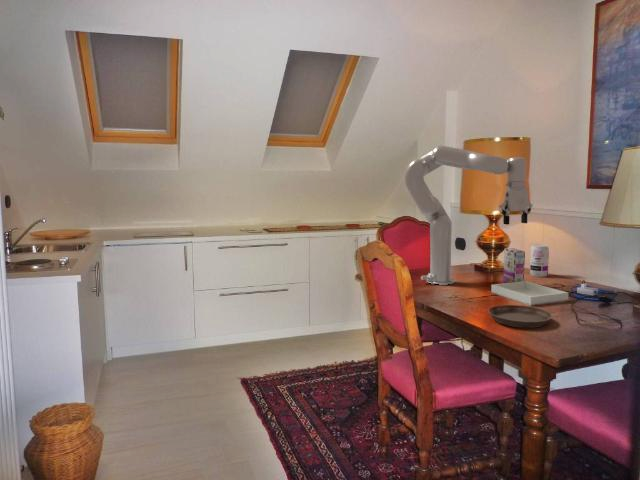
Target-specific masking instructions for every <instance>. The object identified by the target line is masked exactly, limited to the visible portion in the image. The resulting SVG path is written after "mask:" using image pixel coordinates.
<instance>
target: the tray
mask: <svg viewBox="0 0 640 480" xmlns="http://www.w3.org/2000/svg"><path fill="white" fill-rule="evenodd" d="M490 285H491V288H490V289H491V290H490V291H491V293H492V294H494V295H498V296H500V297H503V298H506V299H509V300H513V301H516V302H518V303H520V304H524V305H525V306H528V307H533V306H540V305H541V306H543V305H548V304H549V305H550V304H556V303H557V304H558V303H565V302H568V301H569V292H568V291H564V290H560V289H556V288H553V287H550V286H549V287H548V286H544V285H541V284H538V283H534V282H531V281H528V280H524V281H521V282H512V283H503V282H502V283H494V284H490Z"/></svg>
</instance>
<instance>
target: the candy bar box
mask: <svg viewBox="0 0 640 480" xmlns="http://www.w3.org/2000/svg"><path fill="white" fill-rule="evenodd" d="M503 251H504V252H503V278H502V279H503V281H502V284H503V283H512V282H521V281H525V262H526V261H525V260H526V259H525V257H526V253H525V252H526V251H525V250H521V249H517V248H513V247H511V248H510V247H508V248H504V250H503Z"/></svg>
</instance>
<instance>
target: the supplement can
mask: <svg viewBox="0 0 640 480" xmlns="http://www.w3.org/2000/svg"><path fill="white" fill-rule="evenodd" d="M549 253H550V248H549V246H548V245H546V244H532V245H531V248H530V255H529V256H530V258H529V259H530V262H529V263H530V264H529V275H530V276H532V277H535V278H545V277H547V276H549V258H550V255H549Z"/></svg>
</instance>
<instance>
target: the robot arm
mask: <svg viewBox="0 0 640 480" xmlns="http://www.w3.org/2000/svg"><path fill="white" fill-rule="evenodd" d="M441 166H447V167H451V168H458V169H463V170H468V171H469V170H471V171H478V172H484V173H489V174H494V175H503V174H507V183H505V186H506V187H507V188H506V189H505V193H504V202H502V203H501V204H500V205H498V208H499V211H500V213H501V215H502V216H503V217H502V218H503V223H502V224H503V225H507V226H508V225H510V217H511V216H510V213H511V212H521V216H520V218H521V220H520V221H521V222H520V223H521V224H528V215H529V214H530V212H531V211H532V208H533V204H532V203H531V202H529V192H528V188H526V181H527V180H526V177H527V174H526V173H527V159H526V158H525V157H523V156H521V157H517V156H514V157H510V158H507V157H506V158H505V157H502V156H497V155H491V154H485V153H480V152H476V151H473V150H469V149H462V148H458V147H452V146H446V145H437V146H435V147H434V148H433V150H431V151H429V152H428V153H426V154H424V155H423V156H421V157H420V158H416V159H414V160H412V161H411V162H410V163H409V164H408V166H407V168H406V170H405V174H404V182H405V187H406V189H407V190H408V192H409V194H410V195H411V197H412V200H413V201H414V202H415V204H416V206H417V208H418V210H419V211H420V213H421V215H424V217H425V218H426V220H427V221H428V222H427V223H429V234H430V235H429V237H430V238H429V239H430V240H429V241H430V242H429V243H430V245H429V246H430V255H429V256H430V265H429V266H430V268H429V269H430V270H429V272H427V275H421V276H420V280H422V281H424V280H425V281H426V283H427V282H428V284H429V283H431V284H430V285H434V284H439V285H438V286H447V285H448V284H450V285H453V284H454V283H455V279H452V232H453V231H452V229H453V228H452V227H453V223H452V219H451V217H449V215H448V213H447V212H446V209H444V207H443V205H442V203H441V202H440V200H439V199H438V198H437V197H436V196H434V194H433V193H432V191H431V189H429V186H428V185H427V183H426V181H425V180H424V179H425V178H424V177H425V176H426V175H429V174H430V173H432V172H434V171H436V170H438V168H441Z"/></svg>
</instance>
